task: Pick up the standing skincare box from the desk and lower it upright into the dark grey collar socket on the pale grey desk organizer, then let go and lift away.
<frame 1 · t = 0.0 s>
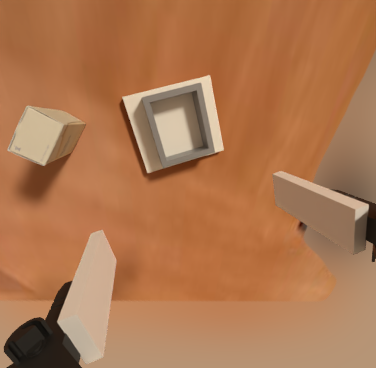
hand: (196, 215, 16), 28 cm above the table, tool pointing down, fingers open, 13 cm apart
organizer: (176, 125, 41), on the table
skincare box: (67, 131, 37), on the table
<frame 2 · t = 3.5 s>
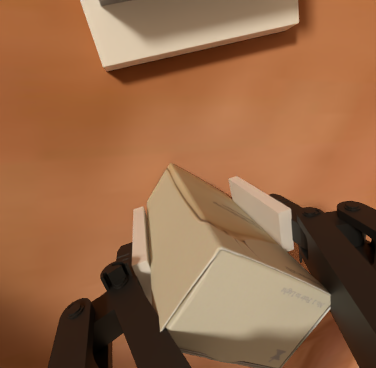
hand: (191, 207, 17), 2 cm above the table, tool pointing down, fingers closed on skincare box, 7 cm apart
skincare box: (184, 197, 19), on the table, touching gripper
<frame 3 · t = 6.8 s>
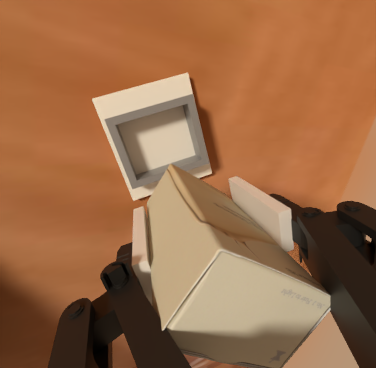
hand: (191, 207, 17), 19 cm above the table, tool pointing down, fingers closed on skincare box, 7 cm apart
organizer: (158, 139, 34), on the table
skincare box: (185, 198, 19), point 17 cm above the table, touching gripper
when the fingers open (5 cm above the table, at t = 9.7 s): skincare box drops 2 cm, resting on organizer.
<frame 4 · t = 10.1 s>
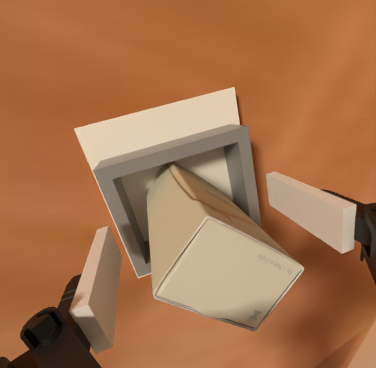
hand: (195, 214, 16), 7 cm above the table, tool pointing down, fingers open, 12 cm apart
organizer: (178, 186, 22), on the table
skincare box: (181, 191, 21), point 1 cm above the table, touching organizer
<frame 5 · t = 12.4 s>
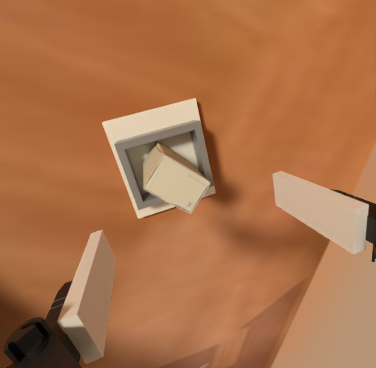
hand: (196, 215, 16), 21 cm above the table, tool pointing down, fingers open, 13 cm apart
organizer: (164, 159, 35), on the table
skincare box: (165, 162, 33), point 1 cm above the table, touching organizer
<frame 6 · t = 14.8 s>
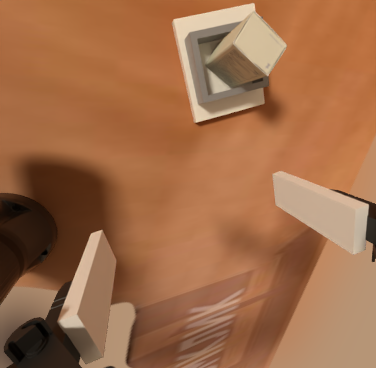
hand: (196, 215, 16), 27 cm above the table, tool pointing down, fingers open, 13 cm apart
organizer: (220, 67, 38), on the table
skincare box: (223, 66, 37), point 1 cm above the table, touching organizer
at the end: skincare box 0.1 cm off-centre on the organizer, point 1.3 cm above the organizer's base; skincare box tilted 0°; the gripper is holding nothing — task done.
